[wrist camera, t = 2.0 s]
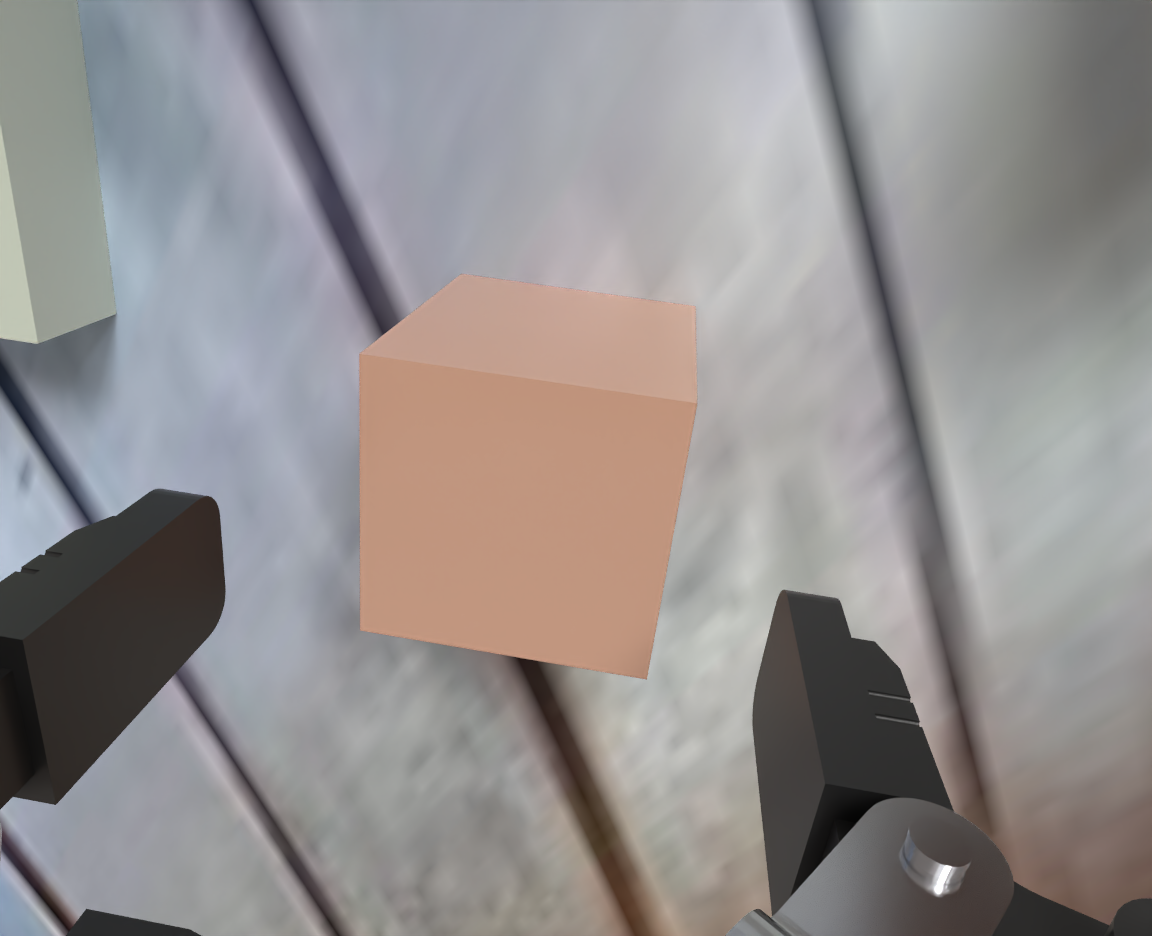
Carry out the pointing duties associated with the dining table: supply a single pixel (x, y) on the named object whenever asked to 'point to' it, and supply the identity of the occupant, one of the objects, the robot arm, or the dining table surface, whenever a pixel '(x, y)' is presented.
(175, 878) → the dining table surface
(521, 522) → the terracotta block
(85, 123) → the plinth block
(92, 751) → the robot arm
